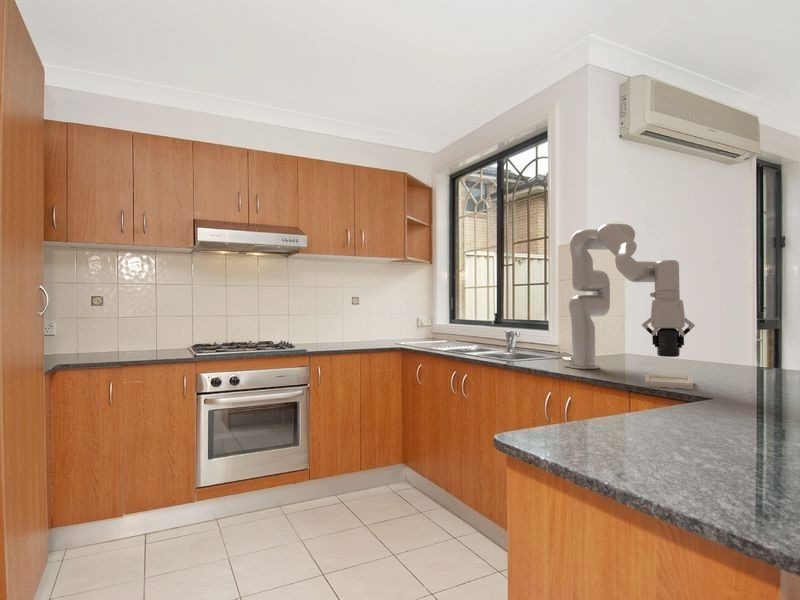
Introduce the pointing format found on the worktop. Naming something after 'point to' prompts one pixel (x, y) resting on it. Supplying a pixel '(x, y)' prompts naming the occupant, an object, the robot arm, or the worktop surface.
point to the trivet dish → (668, 381)
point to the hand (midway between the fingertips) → (668, 346)
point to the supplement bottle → (668, 343)
